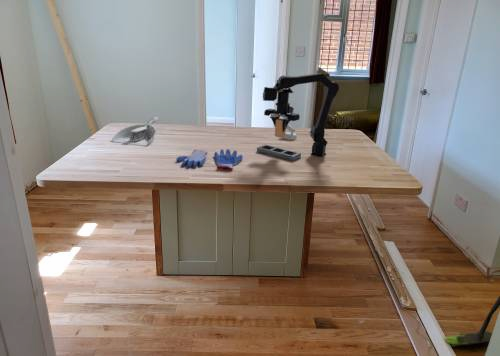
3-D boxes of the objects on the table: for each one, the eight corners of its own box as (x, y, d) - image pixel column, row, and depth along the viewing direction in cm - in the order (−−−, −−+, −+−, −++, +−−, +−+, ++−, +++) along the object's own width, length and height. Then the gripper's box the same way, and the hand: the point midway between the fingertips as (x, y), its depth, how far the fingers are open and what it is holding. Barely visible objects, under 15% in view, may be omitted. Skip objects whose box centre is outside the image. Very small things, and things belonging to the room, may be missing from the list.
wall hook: (286, 120, 246) (300, 123, 241) (285, 134, 250) (298, 137, 244) (279, 122, 240) (293, 125, 235) (278, 137, 244) (291, 140, 238)
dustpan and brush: (110, 142, 220) (108, 126, 216) (141, 128, 249) (140, 114, 246) (147, 147, 214) (146, 130, 211) (174, 132, 244) (173, 118, 240)
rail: (300, 157, 208) (301, 153, 207) (293, 161, 201) (293, 156, 201) (264, 148, 220) (265, 144, 219) (256, 151, 214) (257, 147, 213)
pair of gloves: (172, 168, 186) (171, 161, 184) (184, 152, 209) (184, 145, 208) (238, 172, 184) (238, 165, 182) (243, 156, 207) (243, 149, 206)
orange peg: (285, 136, 208) (286, 119, 205) (281, 137, 205) (282, 120, 202) (278, 134, 210) (280, 118, 207) (274, 136, 207) (276, 119, 204)
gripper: (306, 102, 202) (303, 131, 207) (276, 96, 212) (274, 125, 218) (295, 104, 193) (292, 135, 199) (264, 99, 203) (262, 128, 209)
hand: (280, 130), depth 206 cm, fingers closed on orange peg, 4 cm apart
